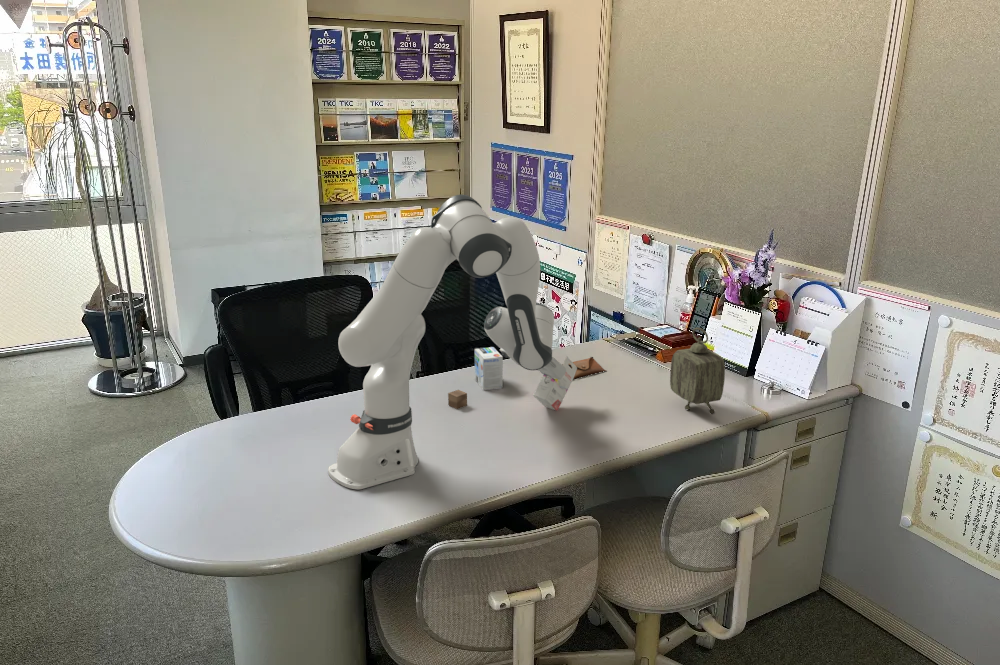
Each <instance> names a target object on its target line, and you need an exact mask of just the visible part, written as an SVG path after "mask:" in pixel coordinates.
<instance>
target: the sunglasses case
mask: <svg viewBox="0 0 1000 665" xmlns="http://www.w3.org/2000/svg"><path fill="white" fill-rule="evenodd" d="M572 362H573V363H574V364H575V366H576V367H577V370H576V373H575V376H574V378H573V380H572V381H574V380H578V379H581V377H582V378H585V376H586V377H588V375H589V376H592V375H591V374H593V375H596V374H595V373H597V374H600V373H599V372H602V373H604V372H603V371H606V372H607V370H606V369H604V368H603V367H602V366H601V365H600V364H599V363H598V362H597V361H596V360H595V359H594V357H593V356H590V357H589V358H585V359H579V360H576V361H572ZM561 364H562V365H563V363H561ZM568 365H569V366H570V368H571V369H572V366H571V364H568Z"/></svg>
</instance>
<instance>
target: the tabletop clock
mask: <svg viewBox="0 0 1000 665" xmlns="http://www.w3.org/2000/svg"><path fill="white" fill-rule="evenodd" d="M697 330H698V331H701V332H702V333H703V334H704V335H705V338H706V340H702V339H703V338H702V337H700V336H699V337H697V336H696V335H695V331H697ZM692 337H693V339H694V340H695V341H696V342H695V343H693V344H692V345H691V346H690V348H684V349H678V350H676V351H675V352H674V353H673V355H672V358H671V363H670V377H669V378H670V379H669V386H670V389H671V392H673V393H674V394H676V395H677V396H679V397H680V398H682V399H683V400H686V401H687V404H686V405H685V406H684V409H685V410H686V409H690V410H691V408H692V407H691V406H690V405H691V403H693V404H694V405H700V404H705V405H706V406H707V408H708V409H709V411H708V412H709V414H710V413H711V414H710V415H715V412H716V410H715V408H712V407H711V405H710V403H711V402H716V401H717V402H718V401H720V400H721V399H722V396H723V393H724V386H725V378H726V377H725V376H726V375H725V374H726V363H725V360H724V359H723V357H722V356H721V355H719V354H718V353H716V352H715V351H713V350H711V349H709V348H708V346H707V345H706V343H708V341H709V336H708V333H707V331H706V330H705V329H703V328H701V327H695V328H693V330H692Z"/></svg>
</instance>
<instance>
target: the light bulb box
mask: <svg viewBox="0 0 1000 665" xmlns="http://www.w3.org/2000/svg"><path fill="white" fill-rule="evenodd" d="M503 360H504V359H503V355H502V354H501V353H500V352H499V351H498V350H497V349H496V348H495V347H494V346H490V347H483V348H482V347H481V348H474V380H475V382H476V383H477V384H478V386H479V387H480V388H481V389H482V391H489V390H497V389H498V390H499V389H503V371H504V370H503V364H504V363H503Z"/></svg>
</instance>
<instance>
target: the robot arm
mask: <svg viewBox="0 0 1000 665" xmlns="http://www.w3.org/2000/svg"><path fill="white" fill-rule="evenodd" d="M454 261H458V263H459V266H460V267H461V268H462V270H463V271H464V272H466V273H467V274H468V275H469V276H471V277H473V278H476V279H477V278H478V279H481V278H488V277H491V276H493V275H495V274H496V278H497V279H498V282H499V286H500V288H501V292H502V295H503V298H504V301H505V305H506V307H503V306H496V307H494V308H492V309H491V310H490V311H489V312H488V313H487V315H486V317H485V320H484V323H483V324H484V325H483V328H484V331H485V333H486V335H487V337H488V338H490V340H491V341H492V342H493V343H494V344H495V345H496V346H497V347H498V348H500V349H499V351H500V352H501V353H502V354H503V355H506V356H507V357H508V358H509V359H511V360H512V361H513V362H514V363H515V364H516V365H519V366H520V367H522V368H523V369H525V370H528V371H538V372H539V373H541V374H542V375H548V376H549V377H551V378H556V379H559V380H560V379H561V378H562V377H563V376H564V374H565V372H566V368H565V367H564V366H563V365H562V364H563V363H561V362H560V361H559V360H557V359H556V358H554V357H553V340H554V325H555V324H554V323H555V314H554V312H553V310H552V309H550V308H549V307H548V306H547V305H545V304H542V303H539V302H537V298H538V292H539V286H540V279H541V260H540V255H539V251H538V248H537V244H536V242H535V240H534V238H533V235H532V233H531V231H530V229H529V228H528V226H527V224H526V223H525V222H524V221H523V220H521V219H520V218H517V217H512V216H508V217H502V218H500V219H499V220H497V221H495V222H493V221H492V219H491V218H490V217H489V215H488V214H487V213H486V212H485V211H484V210H483V207H482V205H481V204H480V203H479V202H478V201H477V200H475V198H473V197H471V196H469V195H466V194H456V195H453V196H451V197H450V198H448V199H447V200H446V201H444V202H443V203H442V204H441V206H439V208H438V210H437V212H436V213H435V214H434V215H433V216H432V218H431V223H430V227H429V226H424V227H423V226H422V227H420V228H417V230H415V231H414V232H412V234H411V236H410V237H409V238H407V240H406V242H405V243H404V245H403V246H402V248H400V251H399V253H398V254H397V256H396V258H395V260H394V262H393V264H392V265H391V267H390V269H389V272H388V273H387V275H386V277H385V279H384V281H383V283H382V284H381V286H380V288H379V290H378V291H377V292H376V293H375V295H374V296H373V297H372V298H371V300H370V301H369V302H368V303H367V304H366V306H364V308H363V309H362V310H361V312H360V313H359V314H358V315H357V317H356V318H355V319H354V320H353V321H352V322H351V323H350V324H348V326H346V327H345V328H344V329H343V330H342V331H341V332H340V333H339V337H338V342H337V343H338V350H339V353H340V355H341V357H342V358H343V359H344V361H345V362H346V363H347V364H349V365H350V366H352V367H356V368H361V367H369V366H370V368H369V370H368V372H367V373H366V375H365V376H364V379H363V382H362V388H363V389H362V390H363V408H364V409H363V410H362V414H361V416H358V415H357V414H352V415H351V416H350V422H351V423H354V424H355V425H358V427H357V428H356V430H354V432H353V433H352V434H351V435H350V436H349V437H348V438H347V439H346V440H345V441H344V442H343V444H342V445H340V447H339V448H338V450H337V451H338V452H337V457H336V462H335V463H333V464H331V465H329V466H328V476H329V477H330V478H331V479H332V480H333V481H334V482H336V483H337V484H339V485H341V486H343V487H345V488H348V489H353V490H362V489H363V490H364V489H366V488H370V487H373V486H378V485H380V484H384V483H387V482H391V481H394V480H398V479H401V478H406V477H408V476H413V475H414V474H415V473H416V466H417V465H418V463H419V457H418V455H417V454H418V453H417V451H416V447H415V443H414V439H413V431H412V423H413V412H412V411H413V410H412V407H411V406H410V377H411V371H412V368H413V367H412V366H413V363H414V358H415V354H416V352H417V348H418V346H419V344H420V342H421V340H422V338H423V337H424V335H425V333H426V321H425V318H424V316H423V315H422V313H423V311H424V310H425V309H426V307H427V305H428V304H429V302H430V300H431V298H432V296H433V294H434V293H435V291H436V290H437V287H438V285H439V283H440V282H441V280H442V277H443V275H444V274H445V270H446V269H447V268H448V266H449V265H451V263H453V262H454Z"/></svg>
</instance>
